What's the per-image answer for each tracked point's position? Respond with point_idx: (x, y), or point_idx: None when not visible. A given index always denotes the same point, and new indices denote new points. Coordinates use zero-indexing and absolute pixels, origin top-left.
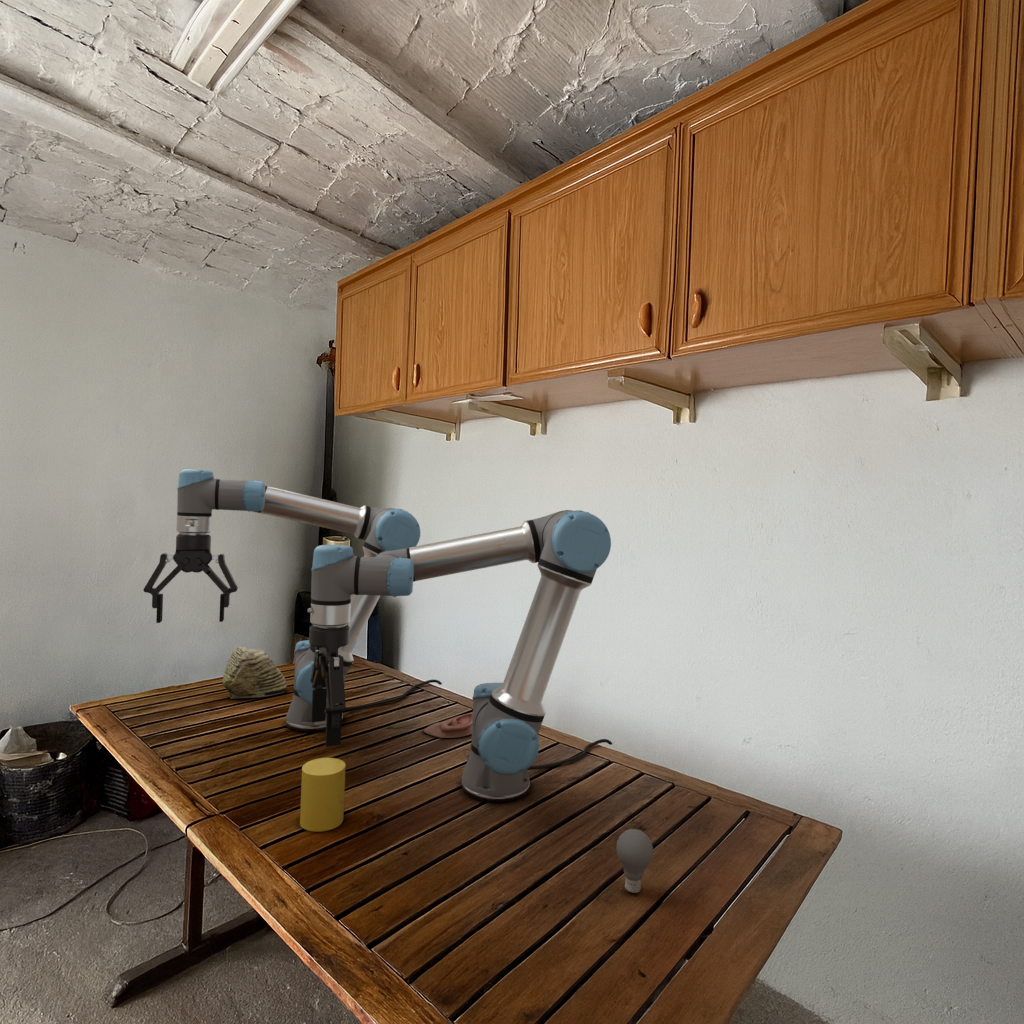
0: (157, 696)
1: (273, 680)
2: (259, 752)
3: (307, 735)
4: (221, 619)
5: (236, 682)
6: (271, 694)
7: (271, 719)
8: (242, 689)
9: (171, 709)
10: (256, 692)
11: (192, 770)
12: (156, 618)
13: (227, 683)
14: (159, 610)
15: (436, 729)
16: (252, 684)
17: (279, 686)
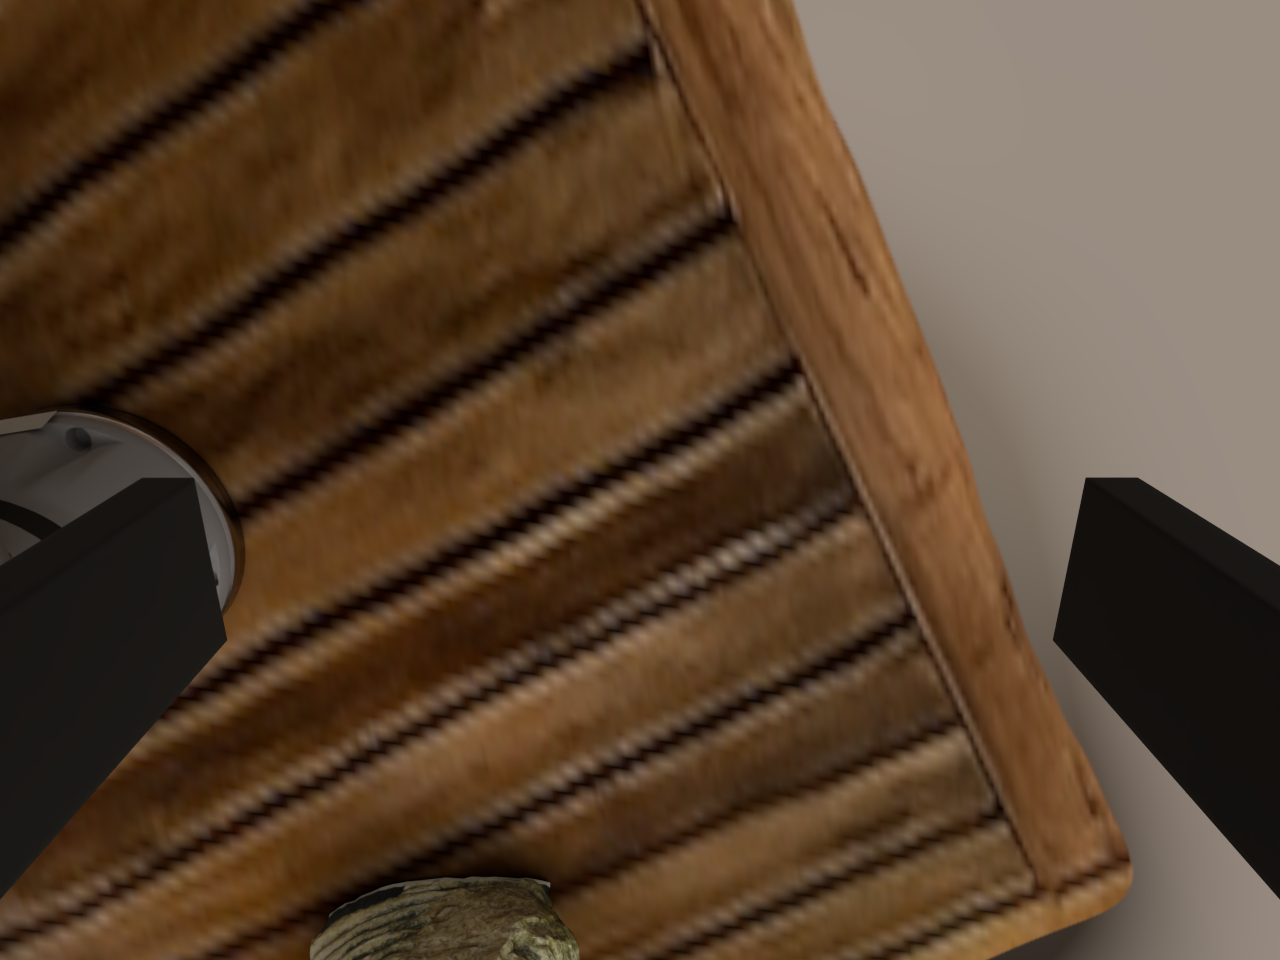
0: (850, 952)
1: (348, 953)
2: (299, 196)
3: (109, 375)
4: (139, 489)
5: (507, 921)
6: (374, 893)
7: (324, 612)
8: (488, 899)
9: (775, 802)
10: (433, 896)
11: (574, 26)
12: (1182, 505)
13: (552, 929)
14: (1234, 574)
15: None
16: (441, 923)
17: (335, 938)
